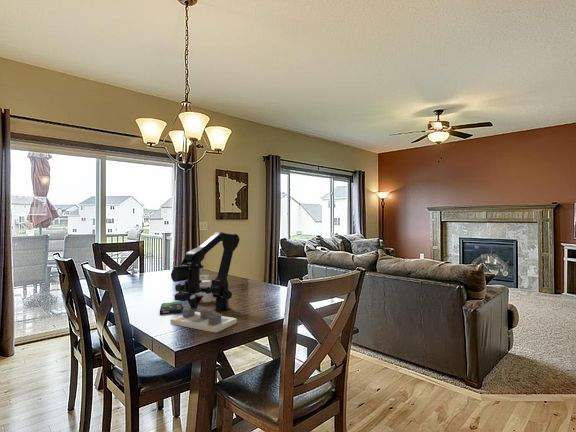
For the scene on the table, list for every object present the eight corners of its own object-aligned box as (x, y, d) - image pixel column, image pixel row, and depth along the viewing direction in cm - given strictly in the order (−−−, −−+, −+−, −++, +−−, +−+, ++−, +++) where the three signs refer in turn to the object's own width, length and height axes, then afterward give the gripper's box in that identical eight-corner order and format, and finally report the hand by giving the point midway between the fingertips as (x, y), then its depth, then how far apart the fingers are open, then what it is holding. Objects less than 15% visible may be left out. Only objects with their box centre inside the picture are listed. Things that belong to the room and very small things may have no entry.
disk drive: (181, 314, 170) (182, 306, 184) (181, 308, 170) (182, 301, 184) (159, 316, 167) (161, 307, 181) (159, 310, 167) (161, 302, 181)
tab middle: (206, 315, 158) (206, 308, 158) (212, 316, 156) (212, 309, 156) (200, 317, 154) (200, 311, 154) (206, 318, 153) (206, 312, 153)
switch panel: (192, 315, 166) (192, 310, 166) (236, 322, 154) (236, 318, 154) (170, 323, 153) (170, 319, 153) (216, 332, 141) (216, 327, 141)
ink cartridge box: (195, 303, 187) (195, 276, 187) (194, 301, 192) (194, 275, 192) (211, 302, 190) (211, 275, 190) (210, 299, 195) (209, 274, 195)
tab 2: (214, 321, 149) (214, 314, 149) (221, 322, 148) (221, 315, 148) (208, 324, 146) (208, 316, 146) (215, 325, 144) (215, 318, 144)
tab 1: (189, 314, 160) (188, 307, 160) (194, 314, 159) (194, 308, 159) (182, 316, 157) (182, 309, 157) (188, 317, 155) (188, 310, 155)
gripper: (194, 274, 173) (194, 304, 173) (165, 280, 156) (165, 314, 156) (211, 275, 168) (212, 307, 168) (183, 282, 151) (184, 318, 151)
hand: (193, 311), depth 161 cm, fingers closed
